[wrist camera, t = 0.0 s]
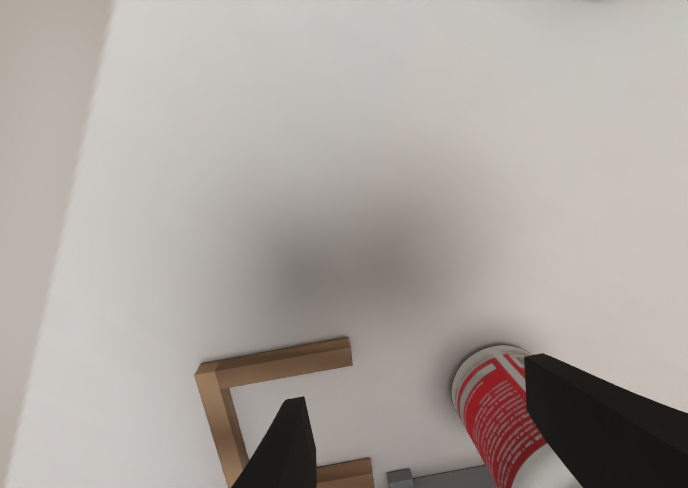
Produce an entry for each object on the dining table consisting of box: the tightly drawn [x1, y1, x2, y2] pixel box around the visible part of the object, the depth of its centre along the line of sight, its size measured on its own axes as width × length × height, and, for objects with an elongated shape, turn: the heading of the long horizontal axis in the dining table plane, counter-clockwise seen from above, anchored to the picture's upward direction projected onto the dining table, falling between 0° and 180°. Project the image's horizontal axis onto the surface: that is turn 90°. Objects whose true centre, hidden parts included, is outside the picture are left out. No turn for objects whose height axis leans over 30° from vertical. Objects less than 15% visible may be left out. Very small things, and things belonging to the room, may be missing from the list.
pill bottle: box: [452, 345, 583, 488], centre depth 18 cm, size 6×6×11 cm
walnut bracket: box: [194, 338, 375, 488], centre depth 22 cm, size 10×9×1 cm
